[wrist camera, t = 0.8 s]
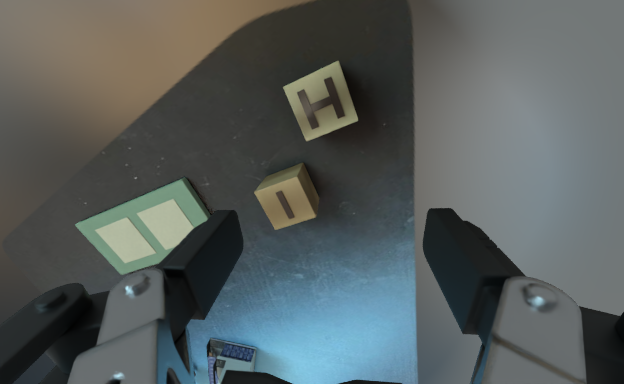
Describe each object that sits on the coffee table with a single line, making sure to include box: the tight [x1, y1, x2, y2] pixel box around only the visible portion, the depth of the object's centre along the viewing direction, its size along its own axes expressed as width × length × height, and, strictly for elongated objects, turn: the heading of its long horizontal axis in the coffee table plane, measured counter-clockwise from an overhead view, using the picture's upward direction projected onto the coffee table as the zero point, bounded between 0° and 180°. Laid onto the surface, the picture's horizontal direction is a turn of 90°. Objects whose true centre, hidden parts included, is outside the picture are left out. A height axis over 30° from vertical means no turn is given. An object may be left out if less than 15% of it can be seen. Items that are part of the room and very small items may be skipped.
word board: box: [75, 178, 211, 275], centre depth 30 cm, size 9×18×1 cm, turn 113°
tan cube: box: [254, 163, 319, 230], centre depth 24 cm, size 4×4×4 cm
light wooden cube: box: [283, 61, 358, 141], centre depth 20 cm, size 4×4×4 cm
